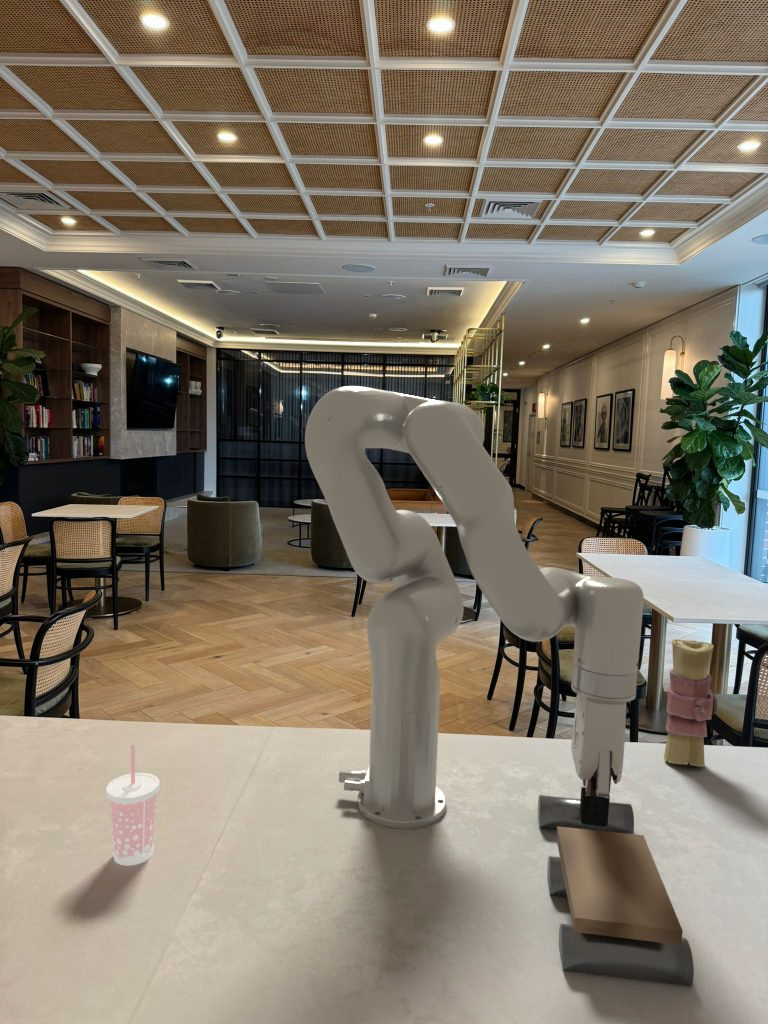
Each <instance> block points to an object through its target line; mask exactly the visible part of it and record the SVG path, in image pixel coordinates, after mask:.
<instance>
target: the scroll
mask: <svg viewBox="0 0 768 1024" xmlns="http://www.w3.org/2000/svg"><path fill="white" fill-rule="evenodd" d="M671 643H672V667H673V668H671V669H669V682H670V683H669V684H670V686H668V687H667V688H668V689H667V704H666V713H667V719H666V723H665V730H666V731H667V732H668V733H667V737H666V743H665V748H664V755H663V760H664V761H665V762H667V763H669V764H670V763H671V764H674V765H675V764H676V765H686V766H687V765H688V764H689V765H690V766H693V767H694V766H695V767H702V768H706V764H705V742H704V741H705V739H704V738H707V737H708V729H707V721H708V720H712V716H713V715H714V714H715V713H716V712H717V709H718V700H717V697H716V695H715V693H714V692H713V690H711V684H712V680H713V677H712V675H711V674H710V667H711V663H712V657H713V650H714V644H713V643H710V642H706V641H697V640H684V639H672V641H671Z"/></svg>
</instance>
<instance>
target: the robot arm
mask: <svg viewBox="0 0 768 1024" xmlns="http://www.w3.org/2000/svg"><path fill="white" fill-rule="evenodd" d="M484 440H485V428H484V424H483V422H482V419H481V418H480V416H479V415H478V414H477V412H475V410H473V409H472V408H471V407H469V406H467V405H465V404H462V403H459V402H453V401H452V402H451V401H448V400H447V401H446V400H436V399H430V398H426V397H421V396H415V395H409V394H404V393H402V392H400V393H399V392H395V391H390V390H384V389H377V388H373V387H367V386H359V385H347V386H340V387H338V388H333V389H332V390H330V391H328V392H327V393H325V394H324V395H322V397H320V399H319V400H318V401H317V402H316V403H315V404H314V406H313V408H312V410H311V412H310V415H309V417H308V419H307V422H306V426H305V435H304V447H305V453H306V457H307V460H308V463H309V466H310V468H311V471H312V473H313V476H314V477H315V480H316V482H317V484H318V486H319V488H320V490H321V492H322V494H323V496H324V499H325V501H326V504H327V506H328V509H329V512H330V515H331V517H332V520H333V523H334V525H335V528H336V531H337V533H338V536H339V537H340V541H341V543H342V546H343V548H344V549H345V550H344V551H346V552H345V553H346V556H347V558H348V559H349V563H350V564H351V567H352V568H353V570H354V572H355V573H356V574H357V575H358V576H359V577H360V578H362V579H363V580H364V581H367V582H370V583H382V582H387V581H390V580H392V581H393V584H394V586H395V588H393V589H391V590H389V591H388V592H386V593H385V594H383V595H382V596H380V597H379V598H378V600H377V601H376V602H375V603H374V605H373V606H372V607H371V610H370V612H369V615H368V619H367V627H366V630H367V640H368V641H367V643H368V648H369V655H370V664H371V665H370V667H371V672H370V673H371V686H370V687H371V690H370V691H371V692H370V698H371V701H370V702H371V703H370V704H371V705H370V707H371V709H370V735H369V736H370V737H369V738H370V739H369V766H368V768H362V769H361V770H354V769H350V768H340V770H339V773H338V782H339V783H340V784H341V783H342V784H343V790H344V791H350V792H353V791H354V792H358V794H357V803H356V804H357V808H358V810H359V812H360V813H361V814H362V815H363V817H365V818H366V819H368V820H369V821H371V822H372V823H373V824H377V825H380V826H384V827H387V828H391V829H392V828H393V829H400V830H402V829H406V830H409V829H410V830H412V829H418V828H422V827H423V828H424V827H426V826H430V825H432V824H434V823H436V822H438V821H439V820H440V819H441V818H442V817H444V814H445V812H446V809H447V798H446V795H445V793H443V791H442V790H441V789H440V788H439V787H438V786H437V770H438V769H437V765H438V742H439V721H440V720H439V719H440V718H439V717H440V687H441V686H440V685H441V683H440V671H439V666H438V659H437V654H436V653H437V650H436V649H437V645H438V644H440V642H442V641H444V640H445V639H448V637H449V636H451V635H452V634H454V632H456V630H457V629H458V628H459V626H460V624H461V623H462V620H463V617H464V609H465V608H464V602H463V596H462V593H461V590H460V587H459V585H458V582H457V581H456V578H455V575H454V573H453V572H452V571H453V570H452V568H451V566H450V563H449V561H448V559H447V556H446V554H445V552H444V550H443V547H442V544H441V543H440V541H439V538H438V535H437V534H436V532H435V529H433V527H432V526H431V525H430V523H429V522H428V521H427V520H426V519H425V518H424V517H423V516H422V515H420V514H419V513H417V512H415V511H411V510H407V509H406V510H405V509H397V510H396V508H395V506H394V505H393V502H392V499H390V496H389V494H388V492H387V489H386V485H385V483H384V480H383V478H382V476H381V475H380V474H379V472H378V471H377V469H376V468H375V466H374V465H373V464H372V462H371V460H370V459H369V458H368V456H367V453H366V449H387V450H392V451H398V452H403V453H407V454H410V456H411V457H412V459H413V461H414V462H415V464H416V465H417V467H418V468H419V470H420V471H421V472H422V474H423V476H424V477H425V479H426V480H427V481H428V483H429V484H430V486H431V487H432V489H433V491H434V492H435V493H436V495H437V497H438V498H439V500H440V501H441V503H442V505H443V507H444V508H445V509H446V511H447V512H448V514H449V515H450V517H451V519H452V521H453V522H454V524H455V526H456V529H457V532H458V538H459V542H460V545H461V548H462V550H463V552H464V556H465V559H466V562H467V565H468V567H469V570H470V573H471V575H472V577H473V578H474V580H475V582H476V584H477V586H478V588H479V589H480V591H481V592H482V594H483V595H484V597H485V599H486V600H487V601H488V604H489V605H490V606H491V608H492V609H493V611H494V612H495V614H496V615H497V616H498V618H499V620H500V621H501V623H503V624H504V626H505V627H506V628H507V629H508V630H509V631H510V632H511V633H513V634H514V635H515V636H517V637H519V638H520V639H522V640H525V641H529V642H537V643H538V642H544V641H547V640H550V639H552V638H553V637H555V636H556V635H558V634H559V633H560V631H562V630H563V628H566V627H570V626H571V627H573V628H574V646H573V659H572V660H573V661H572V673H571V685H570V687H571V690H572V691H573V692H574V693H575V694H576V701H575V708H574V717H573V727H572V735H571V744H570V746H571V748H570V749H571V754H572V759H573V764H574V768H575V772H576V775H577V777H578V779H580V780H581V781H582V786H581V787H580V788H581V789H580V798H579V799H580V813H579V815H580V820H581V823H582V824H586V825H594V826H602V827H606V826H607V825H608V813H609V802H611V798H610V793H611V784H612V781H613V783H614V784H615V785H617V784H619V783H620V782H621V779H622V776H623V775H622V774H623V767H624V757H625V756H624V755H625V743H626V741H625V740H626V739H625V738H626V722H627V718H626V717H627V716H626V715H627V703H629V702H632V701H633V700H635V699H636V696H637V682H638V674H639V672H638V671H639V661H640V660H639V659H640V647H641V636H642V625H643V612H644V611H643V609H644V597H645V596H644V591H643V589H642V588H641V586H640V585H639V584H637V583H636V582H634V581H631V580H628V579H625V578H619V577H614V576H613V577H611V576H591V575H586V574H583V573H579V572H576V571H572V570H569V569H568V570H567V569H564V568H559V567H551V566H550V567H546V566H545V567H542V568H540V567H538V565H537V563H536V562H535V560H534V559H533V557H532V556H531V555H530V552H529V550H528V549H527V548H526V546H525V543H524V542H523V540H522V538H521V535H520V533H519V531H518V527H517V525H516V521H515V514H514V513H515V510H514V509H515V498H514V492H513V490H512V486H511V485H510V483H509V482H508V481H507V479H506V478H505V476H504V475H503V473H502V472H501V471H500V469H499V467H498V466H497V465H496V463H495V461H494V460H493V459H492V457H491V456H490V454H489V453H488V451H487V450H486V449H485V446H483V445H484V442H485V441H484Z"/></svg>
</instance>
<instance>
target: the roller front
mask: <svg viewBox="0 0 768 1024" xmlns="http://www.w3.org/2000/svg"><path fill="white" fill-rule="evenodd" d="M546 868H547V876H546V877H547V885H548V886H547V887H548V894H549V895H551V896H557V897H558V896H559V897H566V898H568V897H567V892H566V887H565V881H564V876H563V871H562V865H561V860H560V856H551V855H549V856H548V859H547V867H546Z"/></svg>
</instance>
